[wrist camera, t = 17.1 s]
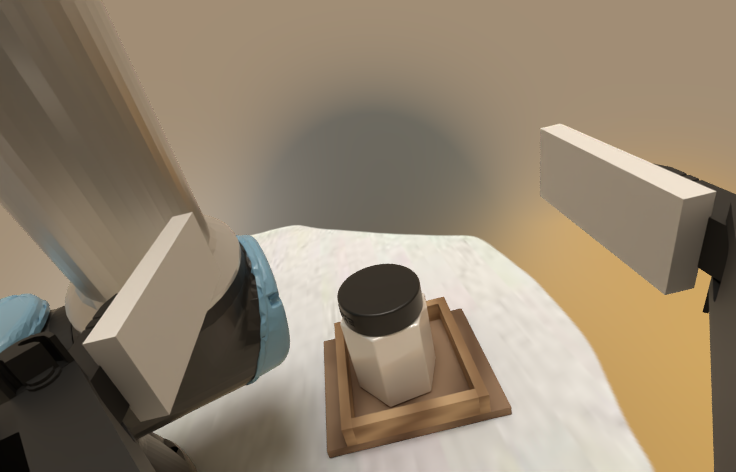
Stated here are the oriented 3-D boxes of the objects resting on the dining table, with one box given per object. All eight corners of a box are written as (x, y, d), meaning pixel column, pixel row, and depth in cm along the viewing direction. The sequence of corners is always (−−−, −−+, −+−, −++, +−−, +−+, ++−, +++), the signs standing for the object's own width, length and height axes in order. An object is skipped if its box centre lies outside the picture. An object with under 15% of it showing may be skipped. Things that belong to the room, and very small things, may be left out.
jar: (372, 341, 50) (350, 261, 44) (439, 344, 48) (425, 259, 42) (352, 404, 43) (323, 318, 37) (430, 411, 40) (411, 319, 34)
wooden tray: (329, 457, 39) (320, 435, 38) (325, 347, 52) (318, 327, 51) (511, 413, 39) (510, 389, 38) (462, 314, 52) (459, 293, 51)
